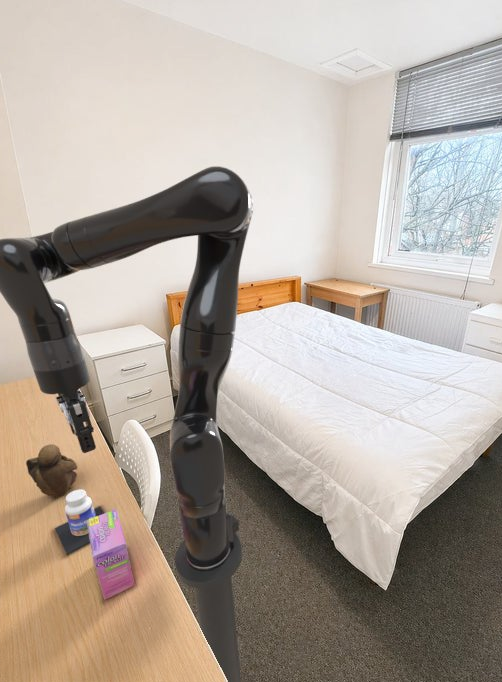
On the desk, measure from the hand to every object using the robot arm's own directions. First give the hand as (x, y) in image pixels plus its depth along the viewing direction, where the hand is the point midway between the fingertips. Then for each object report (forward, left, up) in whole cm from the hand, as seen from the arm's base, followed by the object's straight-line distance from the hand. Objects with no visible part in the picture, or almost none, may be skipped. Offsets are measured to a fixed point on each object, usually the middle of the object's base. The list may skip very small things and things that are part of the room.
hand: (84, 441), depth 66 cm
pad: (+2, -12, -29) cm, 32 cm away
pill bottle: (+2, -12, -29) cm, 32 cm away
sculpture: (+3, -30, -30) cm, 42 cm away
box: (+1, +5, -30) cm, 30 cm away
